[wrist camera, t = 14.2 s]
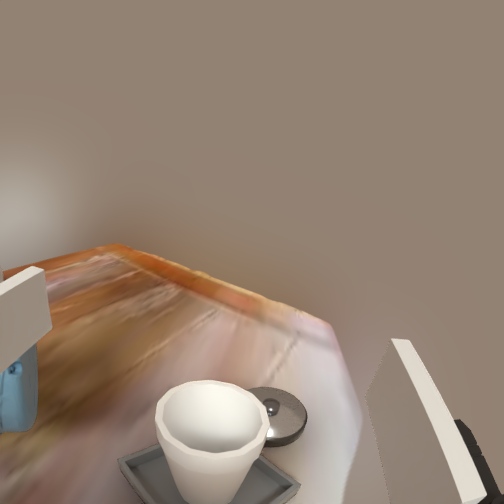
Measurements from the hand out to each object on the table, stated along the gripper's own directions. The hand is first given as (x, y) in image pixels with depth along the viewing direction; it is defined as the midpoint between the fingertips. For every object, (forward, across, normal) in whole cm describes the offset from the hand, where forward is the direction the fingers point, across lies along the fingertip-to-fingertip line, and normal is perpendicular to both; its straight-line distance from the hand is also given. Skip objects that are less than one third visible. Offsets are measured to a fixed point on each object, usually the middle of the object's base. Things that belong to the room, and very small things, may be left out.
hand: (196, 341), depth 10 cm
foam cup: (+8, 0, -27) cm, 28 cm away
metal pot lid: (+22, +6, -28) cm, 36 cm away
